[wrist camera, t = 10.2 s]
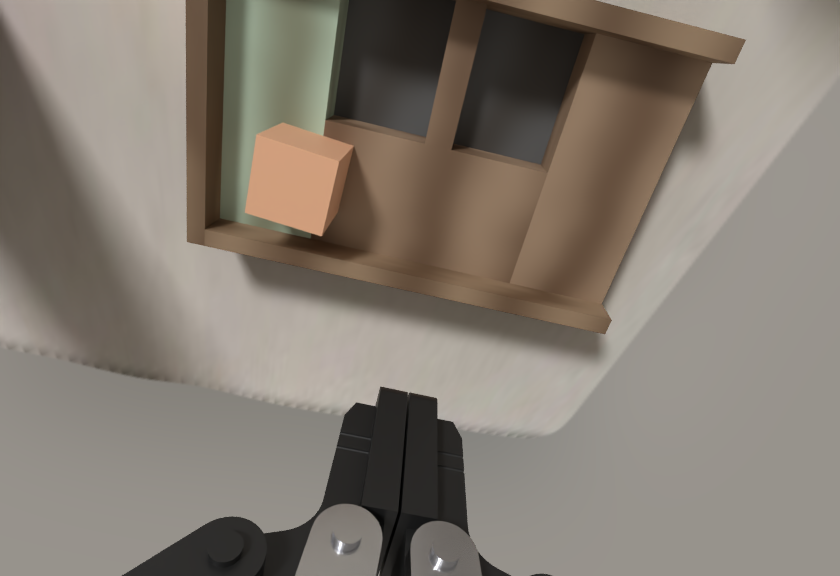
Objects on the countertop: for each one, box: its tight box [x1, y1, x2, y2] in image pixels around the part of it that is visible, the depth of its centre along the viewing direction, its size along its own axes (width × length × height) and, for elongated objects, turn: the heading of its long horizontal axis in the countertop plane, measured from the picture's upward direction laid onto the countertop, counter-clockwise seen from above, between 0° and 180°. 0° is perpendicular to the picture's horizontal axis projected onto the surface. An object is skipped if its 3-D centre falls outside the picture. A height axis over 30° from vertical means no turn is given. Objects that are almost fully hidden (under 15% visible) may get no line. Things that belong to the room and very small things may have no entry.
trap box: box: [186, 0, 746, 334], centre depth 26 cm, size 25×16×4 cm, turn 77°
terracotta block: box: [245, 123, 354, 236], centre depth 25 cm, size 4×4×4 cm
